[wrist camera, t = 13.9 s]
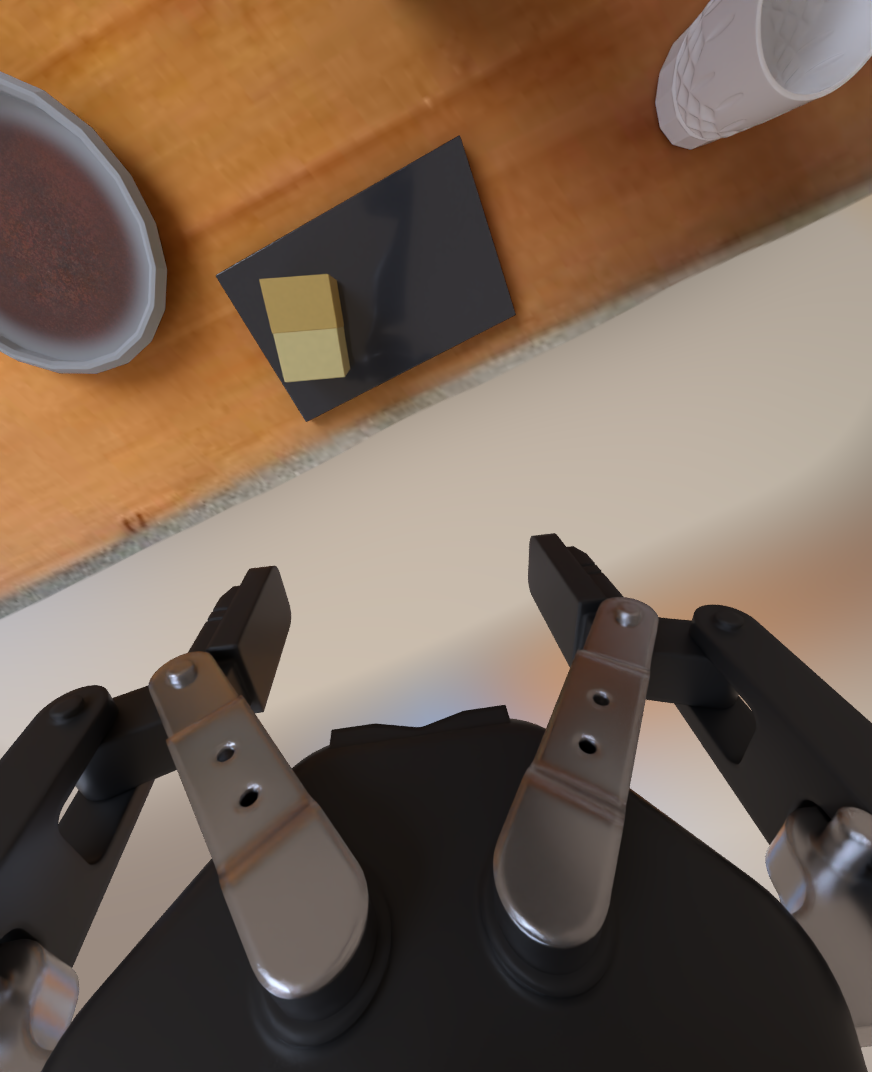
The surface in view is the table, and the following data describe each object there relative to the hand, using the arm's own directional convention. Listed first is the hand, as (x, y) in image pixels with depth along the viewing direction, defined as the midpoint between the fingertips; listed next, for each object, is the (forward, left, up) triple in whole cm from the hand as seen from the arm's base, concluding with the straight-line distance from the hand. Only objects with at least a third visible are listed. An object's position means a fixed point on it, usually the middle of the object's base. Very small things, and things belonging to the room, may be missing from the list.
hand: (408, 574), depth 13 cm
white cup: (-25, -20, -28) cm, 42 cm away
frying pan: (+28, -12, -28) cm, 41 cm away
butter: (+5, -7, -26) cm, 28 cm away
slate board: (0, -9, -28) cm, 29 cm away
